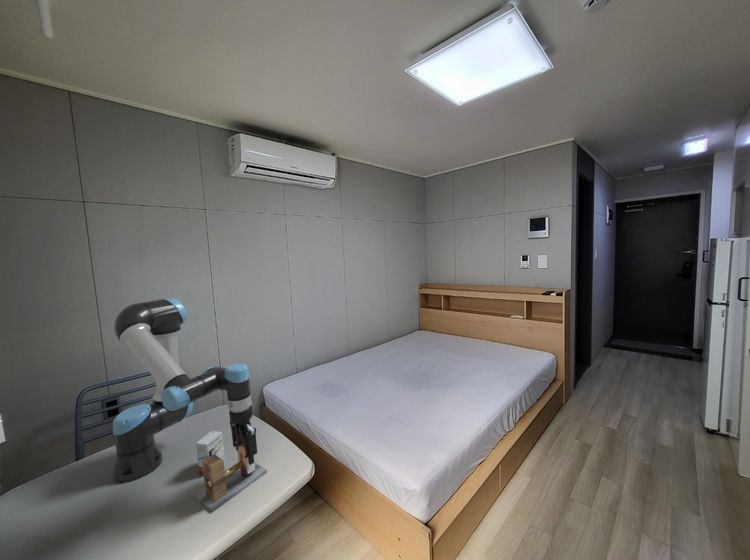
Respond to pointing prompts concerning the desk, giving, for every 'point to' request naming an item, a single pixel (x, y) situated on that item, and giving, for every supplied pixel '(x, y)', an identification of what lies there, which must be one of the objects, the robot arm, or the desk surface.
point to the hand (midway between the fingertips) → (247, 468)
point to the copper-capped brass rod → (240, 464)
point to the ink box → (210, 447)
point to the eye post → (224, 482)
